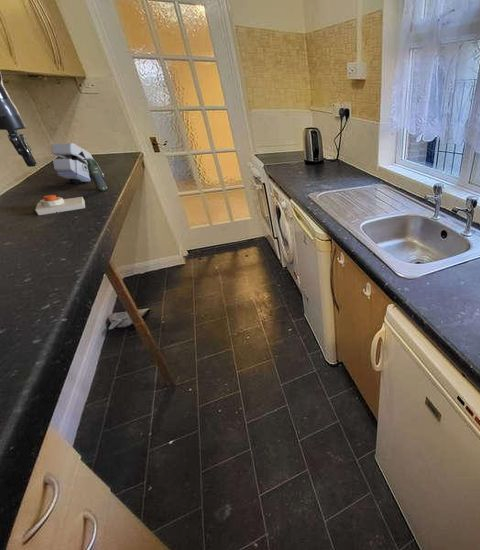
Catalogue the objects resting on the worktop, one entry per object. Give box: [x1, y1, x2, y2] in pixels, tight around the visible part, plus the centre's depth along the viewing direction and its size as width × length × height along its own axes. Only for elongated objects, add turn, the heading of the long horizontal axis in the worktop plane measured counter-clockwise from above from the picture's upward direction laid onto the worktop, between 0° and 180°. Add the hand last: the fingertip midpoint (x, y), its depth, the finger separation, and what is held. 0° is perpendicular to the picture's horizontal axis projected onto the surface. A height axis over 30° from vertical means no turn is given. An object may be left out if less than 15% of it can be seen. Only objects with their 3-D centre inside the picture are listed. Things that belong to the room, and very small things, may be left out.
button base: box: [35, 196, 86, 216], centre depth 121 cm, size 14×11×4 cm
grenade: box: [83, 157, 108, 192], centre depth 140 cm, size 4×4×15 cm
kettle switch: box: [43, 194, 58, 201], centre depth 118 cm, size 4×4×2 cm
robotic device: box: [50, 142, 105, 185], centre depth 155 cm, size 10×21×20 cm
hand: (32, 165), depth 112 cm, fingers open, 3 cm apart
